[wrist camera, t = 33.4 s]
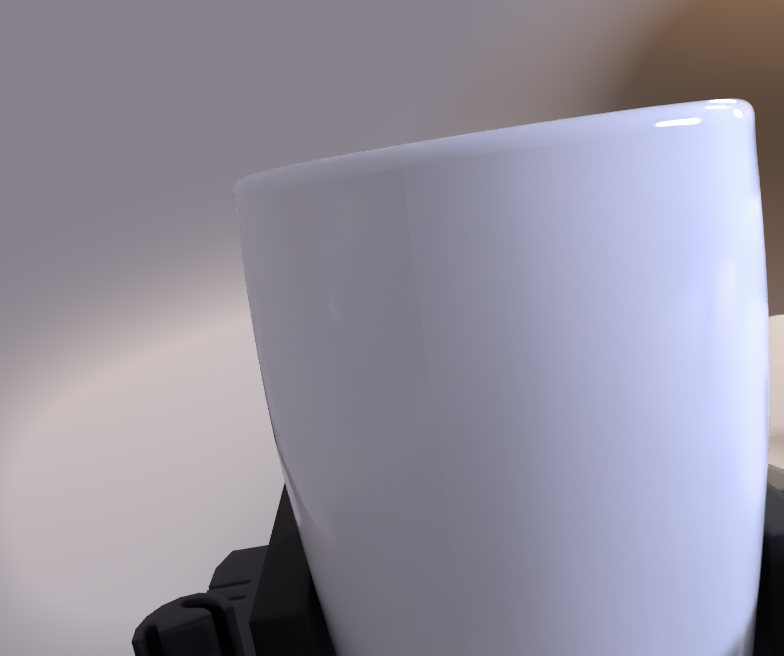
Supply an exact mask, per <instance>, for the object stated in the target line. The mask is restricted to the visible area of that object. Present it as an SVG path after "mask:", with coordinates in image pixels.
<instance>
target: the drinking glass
mask: <svg viewBox="0 0 784 656" xmlns="http://www.w3.org/2000/svg"><path fill="white" fill-rule="evenodd" d="M233 199H234V203H235V208H236V215H237V222H238V229H239V236H240V243H241V251H242V257H243V265H244V271H245V279H246V285H247V293H248V299H249V305H250V312H251V318H252V324H253V330H254V336H255V341H256V347H257V353H258V359H259V364H260V369H261V374H262V380H263V385H264V390H265V395H266V400H267V405H268V410H269V414H270V419H271V424H272V428H273V433H274V438H275V442H276V446H277V450H278V454H279V459H280V463H281V467H282V472H283V476H284V480H285V484H286V487H287V491H288V495H289V499H290V503H291V506H292V510H293V514H294V518H295V521H296V525H297V528H298V532H299V535H300V539H301V542H302V546H303V549H304V553H305V556H306V560H307V563H308V567H309V570H310V573H311V577H312V580H313V583H314V587H315V590H316V593H317V597H318V600H319V603H320V607H321V610H322V613H323V617H324V620H325V623H326V627H327V630H328V633H329V637H330V640H331V643H332V647H333V650H334V653H335V656H754V645H755V633H756V621H757V609H758V597H759V585H760V573H761V561H762V549H763V536H764V522H765V508H766V493H767V475H768V452H769V412H770V363H769V321H768V298H767V297H768V295H767V276H766V259H765V245H764V229H763V217H762V205H761V193H760V183H759V171H758V161H757V150H756V138H755V114H754V110H753V108H752V106H751V104H750V103H748V102H747V101H745V100H742V99H716V100H705V101H696V102H687V103H678V104H669V105H661V106H653V107H646V108H638V109H631V110H624V111H616V112H609V113H602V114H595V115H589V116H581V117H574V118H567V119H560V120H554V121H547V122H540V123H533V124H527V125H520V126H514V127H507V128H501V129H495V130H489V131H482V132H476V133H469V134H463V135H457V136H451V137H445V138H439V139H432V140H426V141H420V142H415V143H409V144H402V145H397V146H391V147H385V148H379V149H373V150H368V151H362V152H357V153H351V154H345V155H340V156H335V157H329V158H324V159H319V160H314V161H308V162H303V163H298V164H293V165H288V166H283V167H278V168H274V169H269V170H265V171H261V172H256V173H253V174H249V175H246V176H244V177H241V178H240V179H239V180H237V181H236V183H235V184H234V187H233Z"/></svg>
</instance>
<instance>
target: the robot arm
mask: <svg viewBox="0 0 784 656" xmlns="http://www.w3.org/2000/svg"><path fill="white" fill-rule="evenodd" d="M132 645H133V649H134V652H135V656H335V653H334V650H333V647H332V643H331V640H330V637H329V633H328V630H327V627H326V623H325V620H324V617H323V613H322V610H321V607H320V603H319V600H318V597H317V593H316V590H315V587H314V583H313V580H312V577H311V573H310V570H309V567H308V563H307V560H306V556H305V553H304V549H303V546H302V542H301V539H300V535H299V532H298V528H297V525H296V521H295V518H294V514H293V510H292V506H291V503H290V499H289V495H288V491H287V487H286V484H284V488H283V491H282V495H281V499H280V503H279V507H278V511H277V515H276V519H275V522H274V527H273V530H272V534H271V538H270V542H269V545H266V546H261V547H254V548H248V549H242V550H235V551H232V552H231V553H230V554H229V555H228V556H227V557H226V558H225V559H224V561H223V562H222V563H221V564H220V565H219V566H218V567H217V568H216V569H215V572H214V574H213V577H212V580H211V583H210V585H209V590H207V593H197V594H192V595H188V596H184V597H180V598H178V599H176V600H174V601H172V602H169V603H167V604H165V605H162V606H161V607H160V608H158V609H157V610H155V611H154V612H153V613H151V614H150V615H148V616H147V617H146V618H145V619H144V620H143V622H142V623H141V624H140V625H139V626H138V627H137V628H136V630H135V633H134V636H133V639H132ZM754 656H784V469H781V468H778V467H775V466H773V465H770V464H768V475H767V493H766V508H765V522H764V536H763V549H762V561H761V573H760V585H759V597H758V609H757V621H756V633H755V645H754Z"/></svg>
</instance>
